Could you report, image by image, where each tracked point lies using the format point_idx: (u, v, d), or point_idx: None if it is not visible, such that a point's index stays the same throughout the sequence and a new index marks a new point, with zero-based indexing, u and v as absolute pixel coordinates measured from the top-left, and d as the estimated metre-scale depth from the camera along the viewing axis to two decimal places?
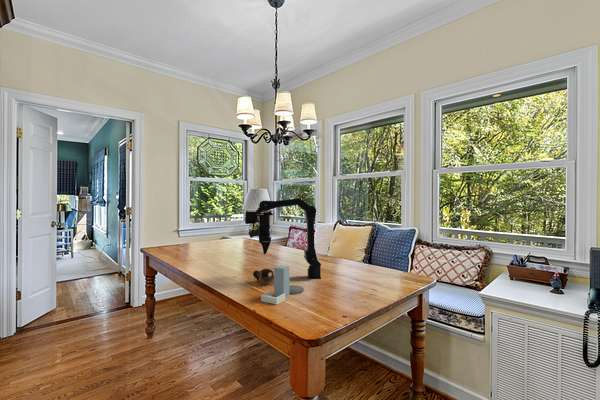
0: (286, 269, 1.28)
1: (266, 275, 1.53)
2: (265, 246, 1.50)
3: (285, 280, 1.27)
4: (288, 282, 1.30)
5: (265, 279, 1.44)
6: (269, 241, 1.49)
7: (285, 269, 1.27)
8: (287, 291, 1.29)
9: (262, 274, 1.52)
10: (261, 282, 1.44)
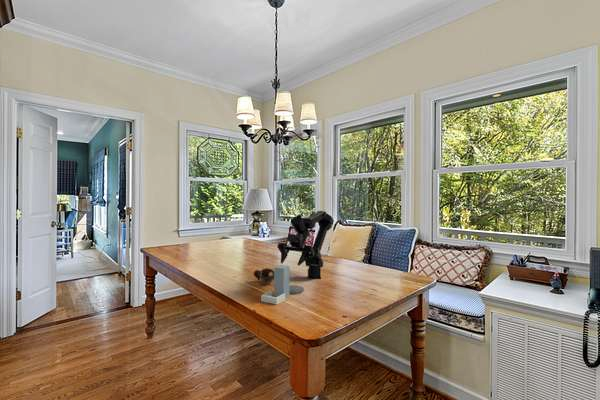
0: (286, 269, 1.28)
1: (267, 275, 1.53)
2: (303, 258, 1.35)
3: (285, 280, 1.27)
4: (288, 282, 1.30)
5: (266, 279, 1.44)
6: None
7: (285, 269, 1.27)
8: (287, 291, 1.29)
9: (263, 274, 1.52)
10: (262, 282, 1.45)
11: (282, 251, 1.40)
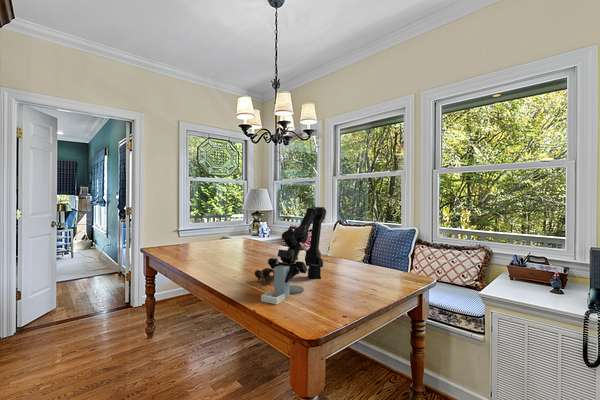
0: (286, 269, 1.28)
1: (267, 274, 1.54)
2: (291, 274, 1.29)
3: None
4: (288, 282, 1.30)
5: (267, 278, 1.45)
6: None
7: (285, 269, 1.27)
8: (287, 291, 1.28)
9: (263, 274, 1.53)
10: (263, 281, 1.45)
11: None
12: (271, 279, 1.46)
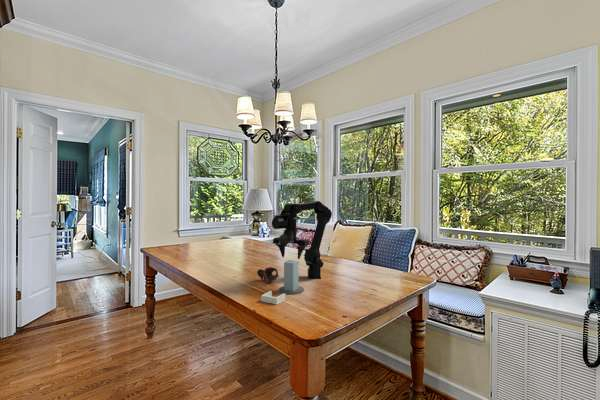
0: (295, 264, 1.35)
1: (270, 274, 1.56)
2: (301, 250, 1.45)
3: (294, 274, 1.35)
4: (297, 276, 1.37)
5: (270, 277, 1.47)
6: None
7: (294, 263, 1.34)
8: (296, 284, 1.36)
9: (266, 273, 1.55)
10: (266, 280, 1.47)
11: (279, 247, 1.49)
12: (274, 278, 1.48)
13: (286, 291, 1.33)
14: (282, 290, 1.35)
